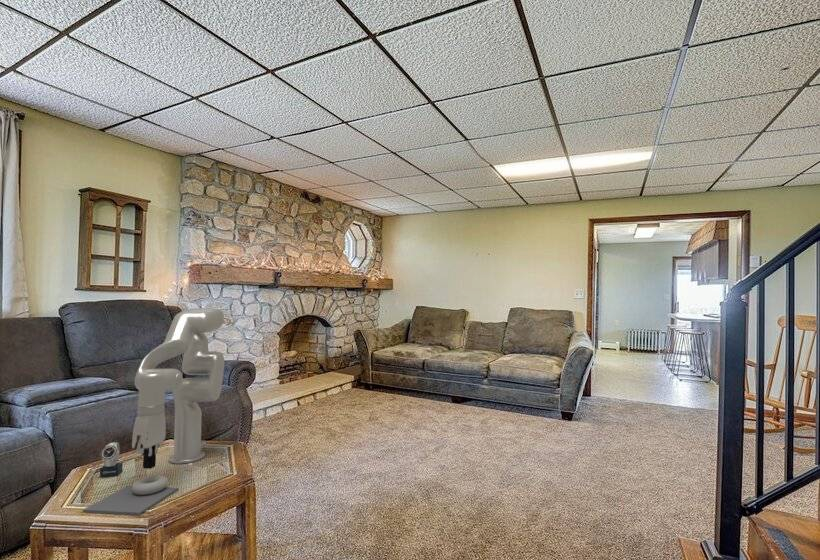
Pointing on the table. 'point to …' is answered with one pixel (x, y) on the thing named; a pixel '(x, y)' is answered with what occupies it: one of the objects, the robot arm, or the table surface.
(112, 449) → the watch
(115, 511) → the mat
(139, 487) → the donut
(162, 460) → the table surface
